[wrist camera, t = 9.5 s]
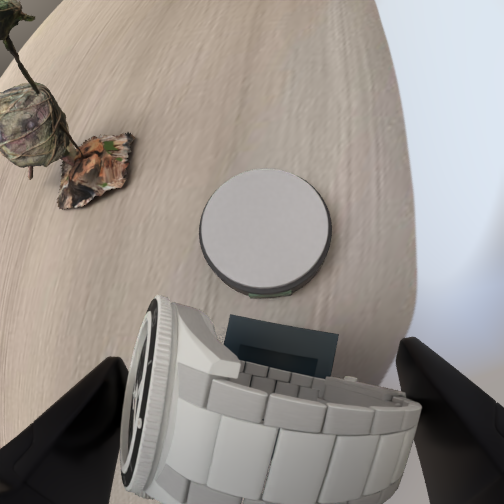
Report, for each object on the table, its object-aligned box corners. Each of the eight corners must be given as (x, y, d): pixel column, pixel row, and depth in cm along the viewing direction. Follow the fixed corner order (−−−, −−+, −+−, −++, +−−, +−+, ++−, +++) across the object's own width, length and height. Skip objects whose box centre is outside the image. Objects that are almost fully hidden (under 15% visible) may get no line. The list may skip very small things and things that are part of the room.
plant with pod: (59, 141, 29) (-51, 22, 10) (147, 134, 28) (41, -43, 8) (34, 210, 27) (-110, 105, 8) (123, 214, 25) (-50, 47, 6)
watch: (202, 312, 16) (65, 243, 5) (363, 342, 15) (500, 321, 4) (180, 417, 14) (29, 493, 4) (338, 450, 13) (413, 586, 3)
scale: (335, 292, 22) (341, 285, 19) (207, 302, 23) (197, 297, 20) (319, 177, 25) (322, 159, 22) (205, 188, 25) (197, 171, 23)
